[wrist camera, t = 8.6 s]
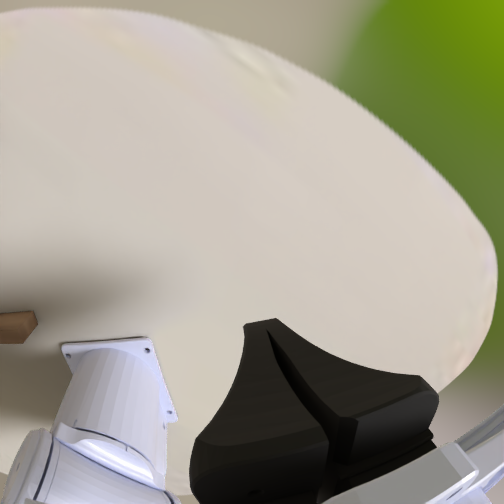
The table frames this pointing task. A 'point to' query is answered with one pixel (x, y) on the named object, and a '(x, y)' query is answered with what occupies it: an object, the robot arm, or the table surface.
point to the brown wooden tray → (16, 327)
